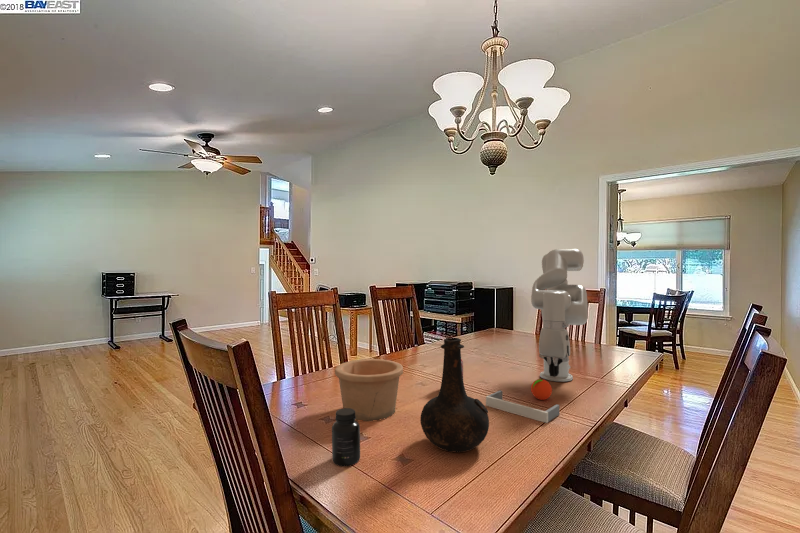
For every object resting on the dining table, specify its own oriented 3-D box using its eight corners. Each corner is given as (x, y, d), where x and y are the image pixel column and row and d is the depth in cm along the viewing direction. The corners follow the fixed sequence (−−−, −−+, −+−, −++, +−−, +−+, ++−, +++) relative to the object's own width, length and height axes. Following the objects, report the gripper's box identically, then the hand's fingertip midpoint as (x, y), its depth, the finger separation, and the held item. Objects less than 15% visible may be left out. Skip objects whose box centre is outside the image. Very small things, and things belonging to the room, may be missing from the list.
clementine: (541, 404, 135) (541, 383, 134) (524, 398, 140) (524, 378, 140) (556, 400, 139) (556, 379, 139) (539, 394, 145) (539, 375, 145)
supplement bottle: (333, 454, 101) (332, 406, 101) (360, 452, 102) (360, 405, 102) (330, 468, 95) (330, 417, 94) (360, 466, 95) (359, 416, 95)
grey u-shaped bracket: (500, 398, 141) (499, 390, 141) (559, 414, 126) (559, 405, 126) (485, 405, 134) (485, 396, 134) (546, 423, 119) (546, 413, 119)
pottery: (411, 403, 137) (411, 361, 137) (388, 429, 116) (388, 379, 116) (354, 396, 144) (353, 356, 144) (322, 419, 123) (322, 373, 123)
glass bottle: (490, 464, 96) (490, 347, 95) (416, 458, 99) (415, 344, 99) (487, 432, 113) (487, 333, 113) (424, 428, 117) (423, 331, 116)
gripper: (578, 326, 144) (578, 377, 144) (539, 322, 155) (538, 370, 154) (570, 328, 139) (570, 381, 139) (529, 324, 149) (529, 374, 149)
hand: (553, 375), depth 147 cm, fingers closed
